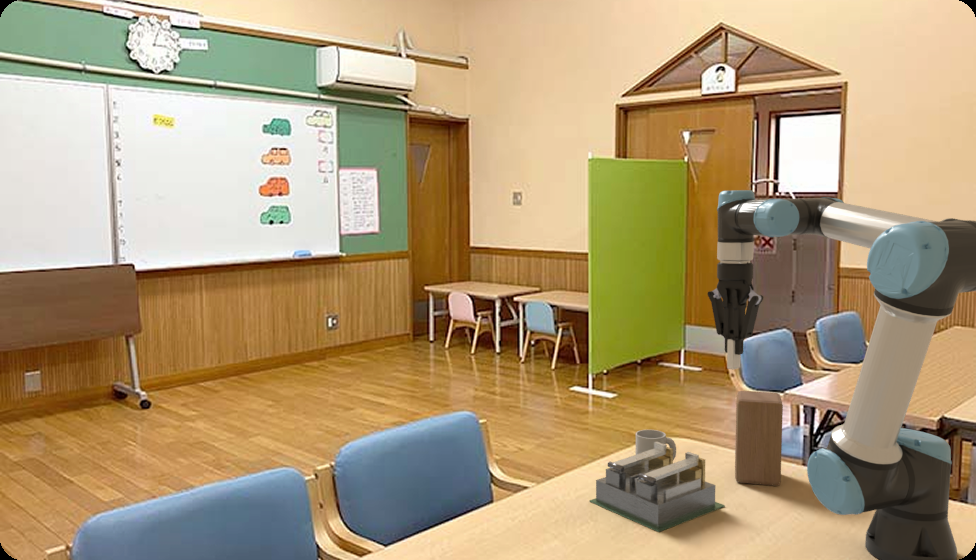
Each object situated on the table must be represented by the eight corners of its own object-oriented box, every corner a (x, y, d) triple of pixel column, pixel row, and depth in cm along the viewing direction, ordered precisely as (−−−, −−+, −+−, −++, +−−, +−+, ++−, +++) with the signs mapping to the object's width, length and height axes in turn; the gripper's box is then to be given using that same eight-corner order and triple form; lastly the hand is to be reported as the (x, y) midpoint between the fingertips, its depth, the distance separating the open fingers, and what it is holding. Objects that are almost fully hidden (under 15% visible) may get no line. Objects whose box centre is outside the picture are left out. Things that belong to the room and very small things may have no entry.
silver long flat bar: (668, 455, 178) (668, 445, 178) (620, 472, 169) (619, 461, 169) (655, 451, 181) (655, 441, 181) (607, 467, 172) (607, 456, 172)
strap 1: (700, 466, 171) (700, 455, 171) (651, 484, 162) (651, 473, 162) (686, 461, 174) (686, 451, 174) (638, 479, 165) (638, 468, 165)
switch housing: (724, 506, 171) (725, 460, 170) (658, 532, 159) (659, 483, 158) (654, 480, 187) (655, 438, 186) (589, 501, 175) (589, 456, 174)
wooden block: (735, 483, 184) (736, 399, 182) (734, 469, 194) (736, 389, 192) (780, 487, 181) (783, 402, 179) (778, 472, 191) (780, 391, 189)
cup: (632, 464, 198) (632, 430, 197) (672, 463, 199) (672, 428, 198) (639, 474, 191) (639, 439, 190) (680, 473, 191) (680, 437, 190)
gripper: (771, 262, 169) (769, 370, 171) (720, 258, 179) (719, 361, 182) (750, 264, 164) (749, 375, 167) (699, 261, 175) (698, 366, 177)
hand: (733, 368), depth 174 cm, fingers closed
